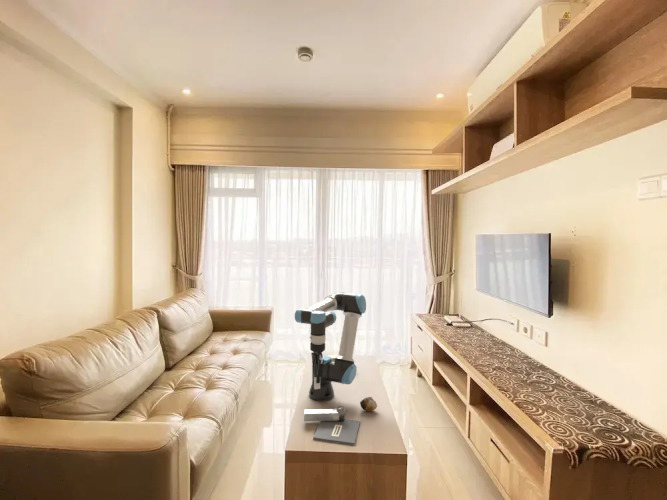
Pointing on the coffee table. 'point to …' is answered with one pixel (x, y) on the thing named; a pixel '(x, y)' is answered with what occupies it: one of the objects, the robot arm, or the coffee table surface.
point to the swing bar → (325, 414)
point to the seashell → (368, 404)
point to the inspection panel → (338, 431)
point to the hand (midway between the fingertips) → (317, 388)
